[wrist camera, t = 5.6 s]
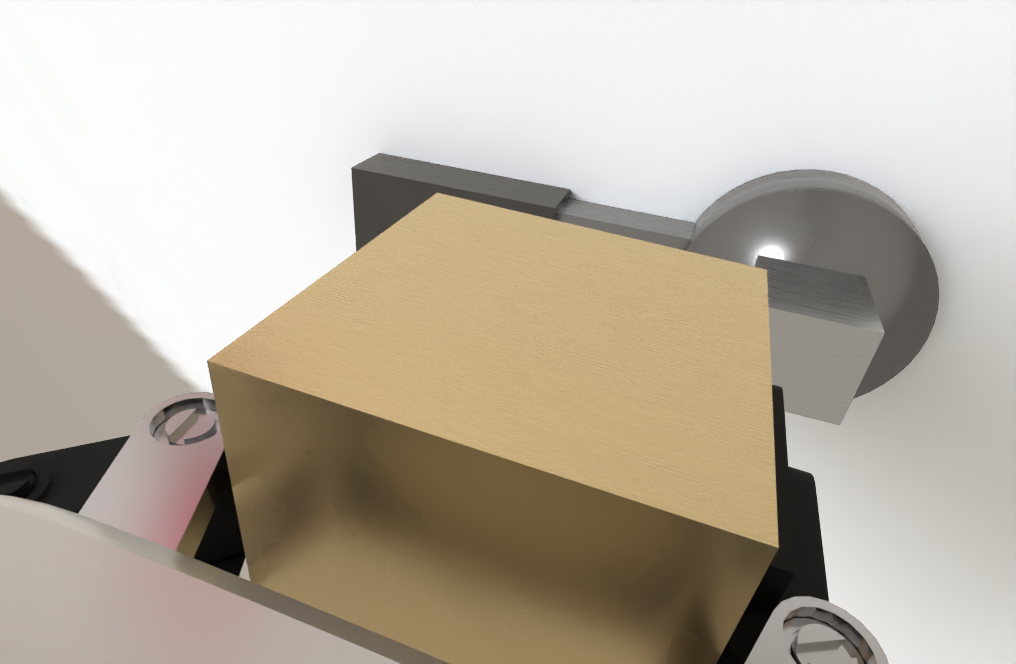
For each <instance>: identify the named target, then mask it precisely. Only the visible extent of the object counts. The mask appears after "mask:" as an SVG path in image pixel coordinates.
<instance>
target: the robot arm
mask: <svg viewBox="0 0 1016 664" xmlns="http://www.w3.org/2000/svg"><path fill="white" fill-rule="evenodd" d="M772 402H773V426H774V449H775V473H776V497H777V520H778V544H779V548H778V550H777V552H776V554H775V556H774V558H773V559H772V561H771V563H770V565H769V567H768V569H767V571H766V572H765V574H764V576H763V578H762V580H761V582H760V584H759V585H758V587H757V589H756V591H755V593H754V595H753V596H752V598H751V600H750V602H749V604H748V606H747V608H746V609H745V611H744V613H743V615H742V617H741V619H740V621H739V622H738V624H737V626H736V628H735V630H734V632H733V634H732V635H731V637H730V639H729V641H728V643H727V645H726V646H725V648H724V650H723V652H722V654H721V656H720V658H719V659H718V661H717V663H716V664H888V660H887V657H886V655H885V653H884V651H883V650H882V648H881V646H880V645H879V643H878V641H877V639H876V638H875V637H874V636H873V635H872V634H871V633H870V631H869V630H868V629H867V628H866V627H865V626H864V625H863V624H862V623H861V622H860V621H859V620H857V619H856V618H855V617H853V616H852V615H851V614H849V613H848V612H847V611H846V610H844V609H842V608H840V607H838V606H836V605H834V604H832V603H830V602H829V598H828V590H827V581H826V572H825V564H824V555H823V547H822V538H821V529H820V521H819V512H818V504H817V495H816V486H815V481H814V477H813V476H812V474H811V473H808V472H805V471H801V470H798V469H795V468H791V467H788V458H787V443H786V428H785V413H784V398H783V389H782V387H780V386H776V385H772ZM249 579H250V577H249V572H248V567H247V562H246V557H245V552H244V546H243V541H242V536H241V531H240V526H239V521H238V516H237V511H236V506H235V500H234V495H233V490H232V485H231V480H230V475H229V470H228V465H227V460H226V455H225V449H224V444H223V439H222V434H221V429H220V424H219V419H218V414H217V409H216V404H215V398H214V393H209V392H196V393H188V394H183V395H178V396H175V397H173V398H170V399H168V400H165V401H163V402H161V403H159V404H158V405H156V406H155V407H153V408H152V409H150V411H149V412H148V413H147V414H146V415H145V416H144V417H143V418H142V419H141V421H140V422H139V424H138V425H137V427H136V428H135V430H134V431H133V433H132V434H131V435H130V436H125V437H120V438H115V439H111V440H105V441H100V442H95V443H90V444H85V445H80V446H75V447H70V448H66V449H60V450H55V451H50V452H45V453H40V454H35V455H30V456H25V457H20V458H15V459H11V460H7V461H4V462H0V664H450V663H447V662H445V661H443V660H440V659H438V658H435V657H433V656H431V655H428V654H426V653H423V652H421V651H418V650H416V649H414V648H411V647H409V646H406V645H404V644H402V643H399V642H397V641H394V640H392V639H389V638H387V637H385V636H382V635H380V634H377V633H375V632H373V631H370V630H368V629H365V628H363V627H360V626H358V625H356V624H353V623H351V622H348V621H346V620H343V619H341V618H339V617H336V616H334V615H331V614H329V613H326V612H324V611H322V610H319V609H317V608H314V607H312V606H309V605H307V604H305V603H302V602H300V601H297V600H295V599H293V598H290V597H288V596H285V595H283V594H280V593H278V592H275V591H273V590H270V589H268V588H265V587H263V586H261V585H258V584H256V583H253V582H251V581H249Z"/></svg>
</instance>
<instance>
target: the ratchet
mask: <svg viewBox="0 0 1016 664" xmlns="http://www.w3.org/2000/svg"><path fill="white" fill-rule="evenodd" d="M351 169H352V185H353V202H354V218H355V235H356V251H358V250H359V249H361V248H362V247H363V246H365V245H366V244H368V243H369V242H370V241H372V240H373V239H374V238H376V237H377V236H379V235H380V234H381V233H383V232H384V231H385V230H387V229H388V228H389V227H391V226H392V225H394V224H395V223H396V222H398V221H399V220H400V219H402V218H403V217H405V216H406V215H407V214H409V213H410V212H411V211H413V210H414V209H415V208H417V207H418V206H420V205H421V204H422V203H424V202H425V201H426V200H428V199H429V198H431V197H432V196H433V195H435V194H436V193H441V194H445V195H449V196H454V197H458V198H462V199H467V200H471V201H475V202H479V203H484V204H488V205H492V206H497V207H501V208H505V209H509V210H514V211H518V212H522V213H526V214H531V215H535V216H539V217H544V218H548V219H552V220H556V221H561V222H565V223H569V224H573V225H578V226H582V227H586V228H591V229H595V230H599V231H603V232H608V233H612V234H616V235H620V236H625V237H629V238H633V239H638V240H642V241H646V242H650V243H655V244H659V245H663V246H667V247H672V248H676V249H680V250H685V251H689V252H693V253H697V254H702V255H706V256H710V257H714V258H719V259H723V260H727V261H732V262H736V263H740V264H744V265H749V266H753V267H757V268H761V269H766V270H767V283H768V307H769V331H770V355H771V378H772V385H776V386H780V387H782V389H783V398H784V411H786V412H790V413H794V414H798V415H802V416H806V417H810V418H814V419H818V420H821V421H825V422H829V423H833V424H837V425H840V424H841V422H842V420H843V418H844V416H845V414H846V412H847V410H848V408H849V405H850V403H851V401H852V399H854V398H856V397H858V396H861V395H863V394H866V393H868V392H870V391H872V390H874V389H876V388H877V387H879V386H881V385H883V384H884V383H886V382H887V381H889V380H890V379H891V378H893V377H894V376H896V375H897V374H898V373H899V372H900V371H901V370H903V369H904V368H905V367H906V366H907V365H908V364H909V363H910V362H911V361H912V359H913V358H914V357H915V356H916V355H917V354H918V352H919V351H920V350H921V348H922V346H923V345H924V343H925V342H926V340H927V339H928V336H929V334H930V332H931V330H932V327H933V325H934V322H935V318H936V314H937V310H938V301H939V287H938V277H937V274H936V270H935V266H934V263H933V261H932V259H931V257H930V255H929V252H928V250H927V248H926V247H925V245H924V243H923V242H922V240H921V238H920V236H919V235H918V233H917V231H916V230H915V228H914V226H913V225H912V223H911V221H910V220H909V219H908V217H907V216H906V214H905V213H904V211H903V210H902V209H901V208H900V207H899V206H898V205H897V204H896V203H895V202H894V201H893V200H892V199H891V198H890V197H888V196H887V195H886V194H884V193H883V192H882V191H880V190H879V189H877V188H876V187H874V186H872V185H870V184H868V183H866V182H864V181H862V180H859V179H857V178H854V177H851V176H849V175H845V174H840V173H836V172H832V171H823V170H791V171H784V172H777V173H773V174H769V175H765V176H762V177H759V178H756V179H754V180H751V181H749V182H746V183H744V184H742V185H740V186H738V187H736V188H734V189H732V190H731V191H729V192H728V193H726V194H725V195H723V196H722V197H720V198H719V199H718V200H717V201H715V202H714V203H713V204H712V205H711V206H710V207H709V208H707V209H706V210H705V212H704V213H703V214H702V215H701V216H700V217H699V218H698V219H697V221H696V222H695V223H692V222H687V221H682V220H677V219H672V218H666V217H661V216H656V215H651V214H646V213H641V212H636V211H630V210H625V209H620V208H615V207H610V206H605V205H599V204H594V203H589V202H584V201H579V200H574V199H569V192H570V189H565V188H560V187H554V186H549V185H544V184H539V183H533V182H528V181H523V180H517V179H512V178H507V177H502V176H496V175H491V174H486V173H481V172H475V171H470V170H465V169H460V168H454V167H449V166H444V165H439V164H433V163H428V162H423V161H418V160H412V159H407V158H402V157H397V156H391V155H386V154H381V153H379V154H377V155H375V156H373V157H371V158H369V159H367V160H365V161H363V162H361V163H359V164H358V165H356V166H354V167H352V168H351Z"/></svg>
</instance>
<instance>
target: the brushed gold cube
mask: <svg viewBox="0 0 1016 664" xmlns="http://www.w3.org/2000/svg"><path fill="white" fill-rule="evenodd" d="M207 363H208V368H209V373H210V378H211V383H212V388H213V393H214V398H215V404H216V409H217V414H218V419H219V424H220V429H221V434H222V439H223V444H224V449H225V455H226V460H227V465H228V470H229V475H230V480H231V485H232V490H233V495H234V500H235V506H236V511H237V516H238V521H239V526H240V531H241V536H242V541H243V546H244V552H245V557H246V562H247V567H248V572H249V577H250V581H251V582H253V583H256V584H258V585H261V586H263V587H265V588H268V589H270V590H273V591H275V592H278V593H280V594H283V595H285V596H288V597H290V598H293V599H295V600H297V601H300V602H302V603H305V604H307V605H309V606H312V607H314V608H317V609H319V610H322V611H324V612H326V613H329V614H331V615H334V616H336V617H339V618H341V619H343V620H346V621H348V622H351V623H353V624H356V625H358V626H360V627H363V628H365V629H368V630H370V631H373V632H375V633H377V634H380V635H382V636H385V637H387V638H389V639H392V640H394V641H397V642H399V643H402V644H404V645H406V646H409V647H411V648H414V649H416V650H418V651H421V652H423V653H426V654H428V655H431V656H433V657H435V658H438V659H440V660H443V661H445V662H447V663H450V664H716V663H717V661H718V659H719V658H720V656H721V654H722V652H723V650H724V648H725V646H726V645H727V643H728V641H729V639H730V637H731V635H732V634H733V632H734V630H735V628H736V626H737V624H738V622H739V621H740V619H741V617H742V615H743V613H744V611H745V609H746V608H747V606H748V604H749V602H750V600H751V598H752V596H753V595H754V593H755V591H756V589H757V587H758V585H759V584H760V582H761V580H762V578H763V576H764V574H765V572H766V571H767V569H768V567H769V565H770V563H771V561H772V559H773V558H774V556H775V554H776V552H777V550H778V548H779V544H778V520H777V497H776V473H775V449H774V426H773V402H772V378H771V355H770V331H769V307H768V283H767V270H766V269H761V268H757V267H753V266H749V265H744V264H740V263H736V262H732V261H727V260H723V259H719V258H714V257H710V256H706V255H702V254H697V253H693V252H689V251H685V250H680V249H676V248H672V247H667V246H663V245H659V244H655V243H650V242H646V241H642V240H638V239H633V238H629V237H625V236H620V235H616V234H612V233H608V232H603V231H599V230H595V229H591V228H586V227H582V226H578V225H573V224H569V223H565V222H561V221H556V220H552V219H548V218H544V217H539V216H535V215H531V214H526V213H522V212H518V211H514V210H509V209H505V208H501V207H497V206H492V205H488V204H484V203H479V202H475V201H471V200H467V199H462V198H458V197H454V196H449V195H445V194H441V193H436V194H435V195H433V196H432V197H431V198H429V199H428V200H426V201H425V202H424V203H422V204H421V205H420V206H418V207H417V208H415V209H414V210H413V211H411V212H410V213H409V214H407V215H406V216H405V217H403V218H402V219H400V220H399V221H398V222H396V223H395V224H394V225H392V226H391V227H389V228H388V229H387V230H385V231H384V232H383V233H381V234H380V235H379V236H377V237H376V238H374V239H373V240H372V241H370V242H369V243H368V244H366V245H365V246H363V247H362V248H361V249H359V250H358V251H357V252H355V253H354V254H353V255H351V256H350V257H348V258H347V259H346V260H344V261H343V262H342V263H340V264H339V265H337V266H336V267H335V268H333V269H332V270H331V271H329V272H328V273H327V274H325V275H324V276H322V277H321V278H320V279H318V280H317V281H316V282H314V283H313V284H311V285H310V286H309V287H307V288H306V289H305V290H303V291H302V292H301V293H299V294H298V295H296V296H295V297H294V298H292V299H291V300H290V301H288V302H287V303H285V304H284V305H283V306H281V307H280V308H279V309H277V310H276V311H275V312H273V313H272V314H270V315H269V316H268V317H266V318H265V319H264V320H262V321H261V322H259V323H258V324H257V325H255V326H254V327H253V328H251V329H250V330H249V331H247V332H246V333H244V334H243V335H242V336H240V337H239V338H238V339H236V340H235V341H233V342H232V343H231V344H229V345H228V346H227V347H225V348H224V349H223V350H221V351H220V352H218V353H217V354H216V355H214V356H213V357H212V358H210V359H209V360H207Z"/></svg>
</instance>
